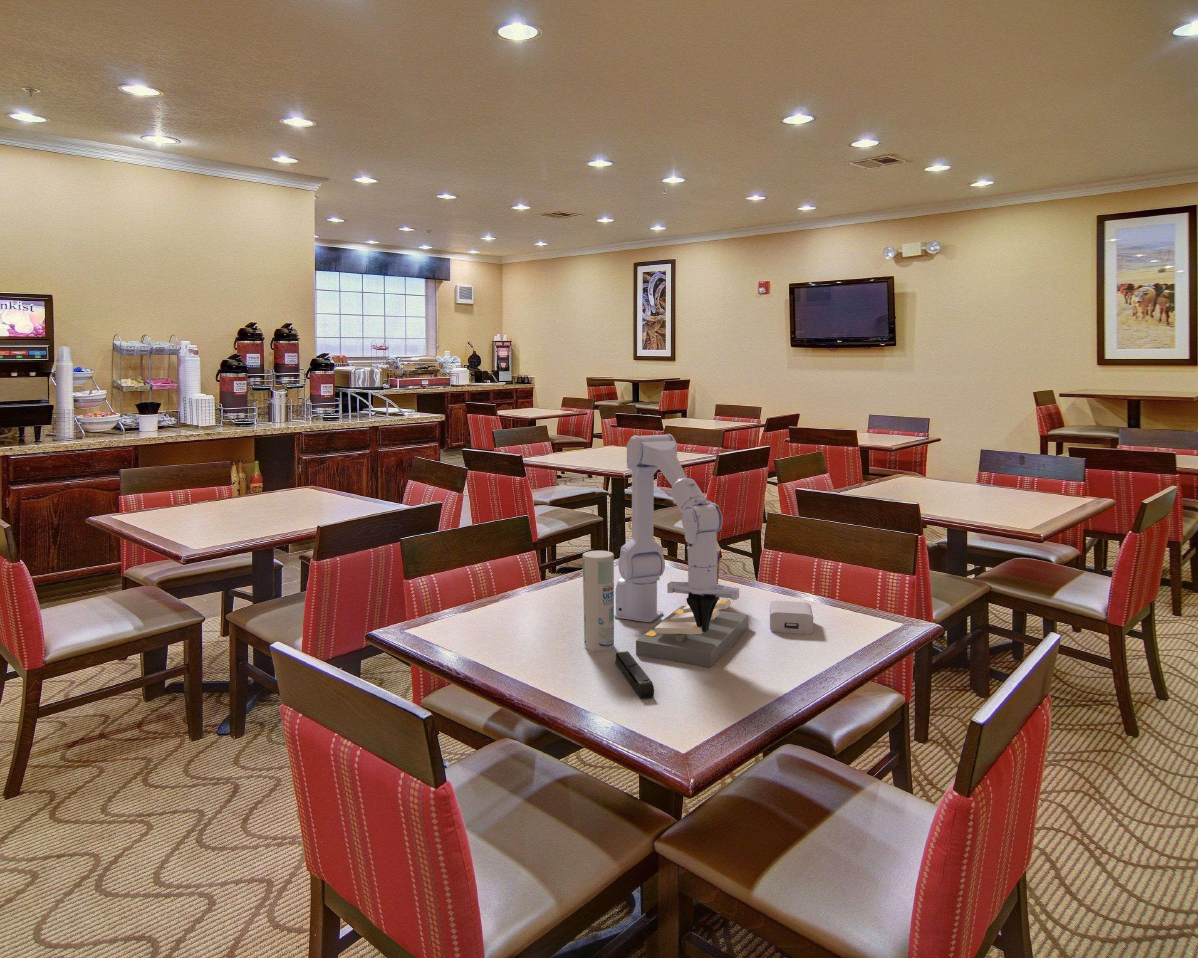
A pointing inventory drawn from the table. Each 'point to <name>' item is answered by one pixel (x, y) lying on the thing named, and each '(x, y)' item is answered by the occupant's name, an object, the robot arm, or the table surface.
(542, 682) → the table surface
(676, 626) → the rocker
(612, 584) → the spray can
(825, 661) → the table surface
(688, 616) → the block
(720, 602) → the block
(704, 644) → the switch panel
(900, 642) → the table surface
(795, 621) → the charger
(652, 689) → the black long bar
